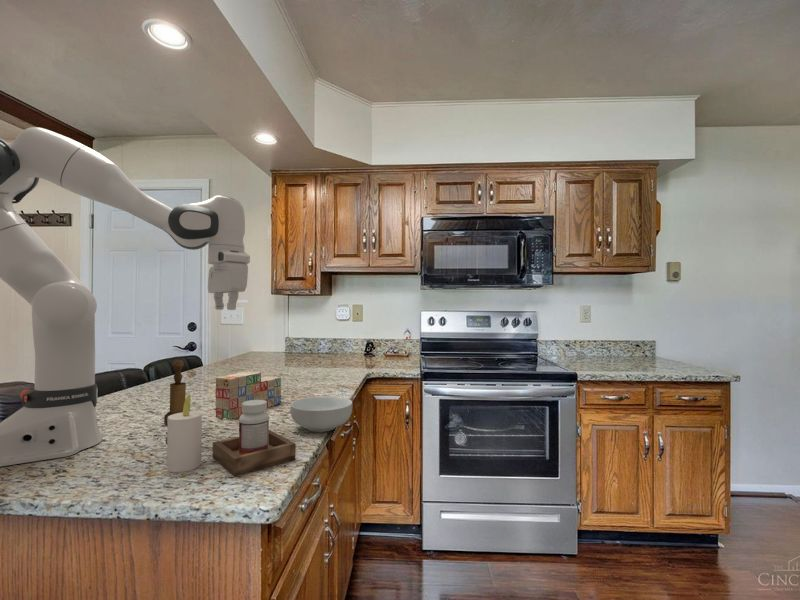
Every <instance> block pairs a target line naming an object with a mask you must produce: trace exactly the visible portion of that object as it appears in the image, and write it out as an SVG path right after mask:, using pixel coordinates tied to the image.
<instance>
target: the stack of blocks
mask: <svg viewBox="0 0 800 600" xmlns="http://www.w3.org/2000/svg"><path fill="white" fill-rule="evenodd" d="M250 400H265V401H266V402H267V407H269V408H272V407H274V405H276V406H278V405H277V404H279V405H281V404H282V403H281V402H282V401H281V400H282V386H281V377H280V376H279V377H278V376H269V375H266V376H263V377H262V373H261V372H258V371H243V372H238V373H233V374H232V373H231V374H228V375H223V376H218V377H215V418H217V417H221V418H220V419H223V418H226V419H225V420H229V419H230V420H233V419H232V418H234V419H236V418H235V417H237V418H240V417H239V416H241V415H242V414H243V412H242V403H243V402H245V401H250ZM280 403H281V404H280ZM271 406H272V407H271Z"/></svg>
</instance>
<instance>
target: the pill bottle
mask: <svg viewBox="0 0 800 600" xmlns="http://www.w3.org/2000/svg"><path fill="white" fill-rule="evenodd" d="M267 410H268V408H267V402H266V401H265V400H250V401H245V402H243V403H242V412H243V414H242V415H241V416H240V417H238V418H239V419H238V437H239V455H243V454H247V453H251V452H255V451H259V450H263V449H267V448H269V430H270V429H269V428H270V427H269V426H270V416H269V414H268V412H266V411H267Z"/></svg>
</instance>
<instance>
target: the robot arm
mask: <svg viewBox="0 0 800 600" xmlns="http://www.w3.org/2000/svg"><path fill="white" fill-rule="evenodd" d="M40 179H43V180H46V181H48V182H50V183H52V184H55V185H56V186H59V187H61V188H63V189H65V190H67V191H69V192H71V193H74V194H76V195H79V196H81V197H84V198H86V199H89V200H92V201H95V202H98V203H101V204H103V205H107V206H109V207H112V208H115V209H119V210H121V211H124V212H126V213H129V214H130V215H133V216H135V217H137V218H139V219H141V220H143V221H145V222H147V223H148V224H151V225H152V226H154V227H156V228H158V229H161V230H162V231H164V232H165V233H166V234H168V236H169V237H170V238H171V239H172V240H173V241H174V242H175V243H176V244H177V245H178V246H180V247H181V248H183V249H187V250H190V251H191V250H194V251H195V250H200V249H202V248H204V247H206V246H207V245H208V249H207V250H208V251H207V252H208V253H207V254H208V257H207V258H208V261H207V263H208V264H209V265H212V266H210V267H209V270H208V275H207V276H208V277H207V278H208V279H207V291H208V293H209V294H213V300H214V305H215V307H214V309H215V310H217V311H218V310H219V311H220V310H224V309H225V307H224V306H225V304H224V300H223V299H224V294H227V295H228V300H227V301H228V302H227V303H226V309H227V310H228V311H234V310H236V309H237V301H238V298H239V293H243V292H245V291H246V289H247V286H248V279H249V277H248V276H249V274H248V273H249V267H248V264H250V263H251V256H250V255H249V254H248V253H246V252H245V244H244V237H245V233H246V219H245V218H246V217H245V216H246V215H245V211H244V207H243V205H242V204H241V202H240V201H238V200H236V199H234V198H232V197H230V196H226V195H213V196H212V197H210V198H208V199H207V200H203V201H199V202H194V203H193V202H192V203H183V204H179V205H176V206H175V207H170V206H169V205H166V204H164V203H163V202H160V201H159V200H157V199H155V198H153V197H152V196H150V195H147V193H145V192H144V191H142V190H141V189H139V188H138V187H137V186H136V185H135V184H134V183H133V181H132V180H130V179H129V178H128V176H127V175H126V174H125V172H124V171H123V170H122V169H121V168H120V166H118V165H117V164H115V163H114V162H113V161H111V160H110V159H108V158H107V157H106V156H104V155H103V154H102V153H100V152H98V151H96V150H94V149H92V148H91V147H88V146H87V145H85V144H83V143H81V142H79V141H76V140H75V139H73V138H71V137H68V136H65V135H63V134H60V133H58V132H55V131H52V130H49V129H48V128H44V127H39V126H30V127H27V128H26V129H23V130H21V131H20V132H19V133H18V134H17V136H16V137H15V138H14V140H13V141H11V142H8V141H6V140H5V139H3V138H1V137H0V279H1V280H2V281H3V282H4V283H6V284H7V285H8V286H9V287H11V289H12V290H14V291H15V292H16V293H17V294H18V295H19V296H20V297H22V298H23V299H24V300H25V301H26V302H27V303H28V304H29V305H30V306H31V323H32V336H33V337H32V338H33V339H32V340H33V347H34V359H35V360H34V388H33V389H31V390H30V389H24V390H22V391H21V392H20V395H19V398H20V399H21V404H22V405H21V406H22V407H21V408H19V409H18V410H16V411H15V412H14V413H13V414H11V415H9V416H8V417H6V418H5V419H4V420H2V421H1V422H0V467H5V466H11V465H17V464H24V463H25V464H27V463H33V462H38V461H44V460H46V461H47V460H52V459H53V460H54V459H58V458H65V457H70V456H72V455H75V454H77V453H79V452H80V451H83V450H86V449H87V448H92V447H93V446H96V445H98V444H100V443H101V442H102V441H103V437H102V434H101V431H100V428H99V424H98V417H97V411H96V407H97V404H98V396H99V395H98V393H99V392H98V385H97V383H96V331H95V328H96V327H95V325H96V324H95V323H96V322H95V321H96V319H95V318H96V317H95V315H96V314H95V313H96V312H97V309H98V308H97V307H98V305H97V303H98V302H97V300H96V297H95V296H94V294H93V293H92V292H91V291H90V289H88V287H86V285H85V284H84V283H83V282H82V281H81V280H80V279H79V278H78V277H77V276H76V275H75V274H74V273H73V271H72V270H71V269H70V268H69V267H68V266H67V264H65V263H64V261H62V260H61V259H60V258H59V257H58V255H57V254H56V253H55V252H54V251H53V250H52V249H51V248H50V247H49V245H47V244H46V242H45V241H44V240H43V239H42V238H41V237H40V236H39V235H38V234H37V233H36V231H34V230H33V228H32V227H31V226H30V225H29V224H28V223H27V222H26V221H25V220H24V219H23V218H22V217H21V215H20V214H19V213H18V212H17V210H16V209H15V207H14V206H13V204H18V203H20V202H21V201H22V200H23V199H24V198H25V196H27V195H28V194H29V193H31V191H33V190H34V189H35V188H36V187H37V185H38V183H39V180H40Z"/></svg>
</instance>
